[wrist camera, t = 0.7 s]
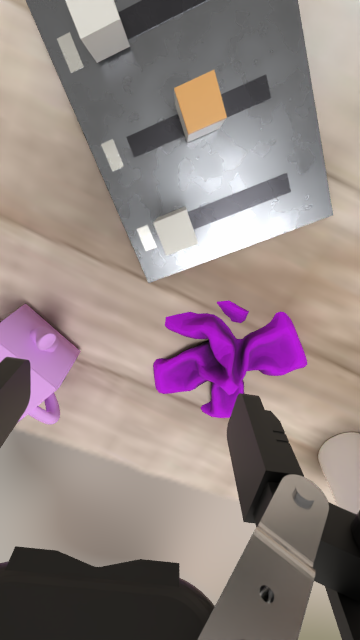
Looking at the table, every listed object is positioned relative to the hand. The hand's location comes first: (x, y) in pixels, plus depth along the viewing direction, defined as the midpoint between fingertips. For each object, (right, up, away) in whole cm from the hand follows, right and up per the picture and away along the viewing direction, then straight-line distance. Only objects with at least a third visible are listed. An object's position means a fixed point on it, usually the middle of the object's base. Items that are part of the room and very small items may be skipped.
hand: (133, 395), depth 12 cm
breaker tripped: (+3, +21, +15) cm, 26 cm away
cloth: (+7, -1, +28) cm, 29 cm away
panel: (+3, +22, +17) cm, 28 cm away
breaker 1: (-4, +26, +13) cm, 29 cm away
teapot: (-16, -1, +27) cm, 32 cm away
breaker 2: (+1, +12, +19) cm, 22 cm away
